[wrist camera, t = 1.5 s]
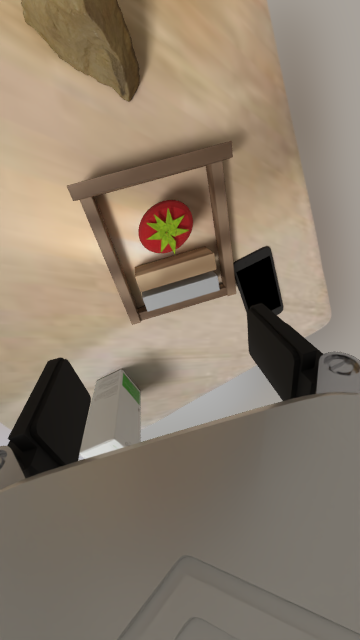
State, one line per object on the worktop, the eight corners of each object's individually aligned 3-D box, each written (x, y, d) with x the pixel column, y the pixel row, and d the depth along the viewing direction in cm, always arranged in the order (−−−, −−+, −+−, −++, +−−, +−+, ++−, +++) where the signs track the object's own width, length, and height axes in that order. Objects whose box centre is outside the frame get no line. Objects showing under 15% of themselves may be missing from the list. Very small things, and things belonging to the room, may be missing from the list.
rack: (78, 186, 29) (66, 185, 24) (214, 149, 30) (231, 140, 25) (132, 317, 40) (132, 335, 35) (230, 288, 41) (244, 302, 36)
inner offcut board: (134, 267, 36) (134, 276, 32) (204, 246, 36) (214, 253, 32) (139, 280, 37) (140, 292, 33) (207, 260, 38) (216, 269, 33)
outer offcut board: (141, 286, 38) (142, 297, 33) (208, 266, 38) (217, 275, 34) (146, 298, 39) (147, 311, 35) (210, 279, 39) (219, 290, 35)
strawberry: (192, 226, 34) (211, 237, 26) (151, 253, 35) (157, 272, 27) (172, 188, 31) (186, 186, 23) (128, 219, 32) (127, 228, 24)
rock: (168, 74, 24) (114, -97, 18) (131, 85, 19) (38, -146, 13) (102, 122, 30) (43, 7, 23) (61, 141, 25) (-28, 0, 18)
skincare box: (141, 391, 50) (143, 463, 36) (115, 402, 50) (108, 478, 37) (121, 367, 45) (116, 439, 32) (93, 380, 46) (76, 457, 32)
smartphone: (250, 325, 47) (252, 328, 46) (229, 263, 39) (231, 264, 38) (282, 309, 46) (285, 311, 45) (267, 243, 38) (270, 244, 37)
